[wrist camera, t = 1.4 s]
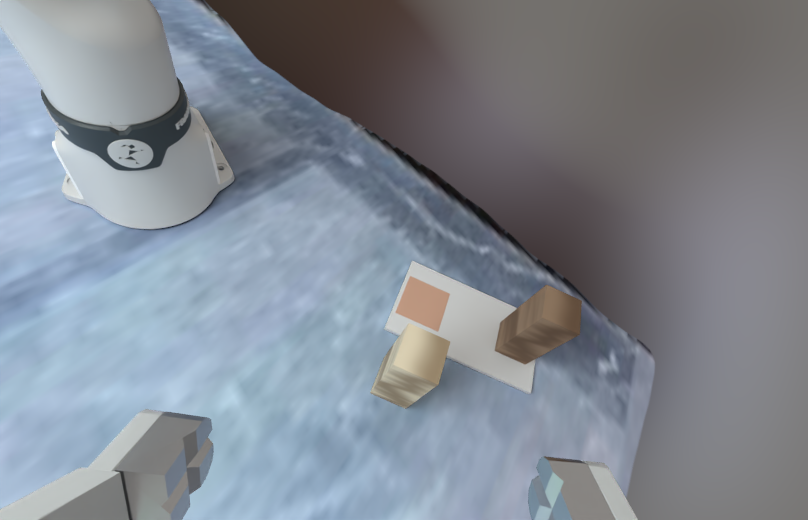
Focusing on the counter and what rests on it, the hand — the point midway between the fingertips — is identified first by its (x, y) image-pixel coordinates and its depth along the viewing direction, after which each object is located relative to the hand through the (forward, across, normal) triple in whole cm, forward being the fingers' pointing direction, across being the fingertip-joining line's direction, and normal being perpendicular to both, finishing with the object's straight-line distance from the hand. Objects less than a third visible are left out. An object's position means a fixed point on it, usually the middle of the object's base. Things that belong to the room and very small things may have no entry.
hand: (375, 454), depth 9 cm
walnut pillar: (+36, -17, +18) cm, 44 cm away
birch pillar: (+28, -2, +21) cm, 35 cm away
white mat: (+37, -11, +17) cm, 42 cm away
